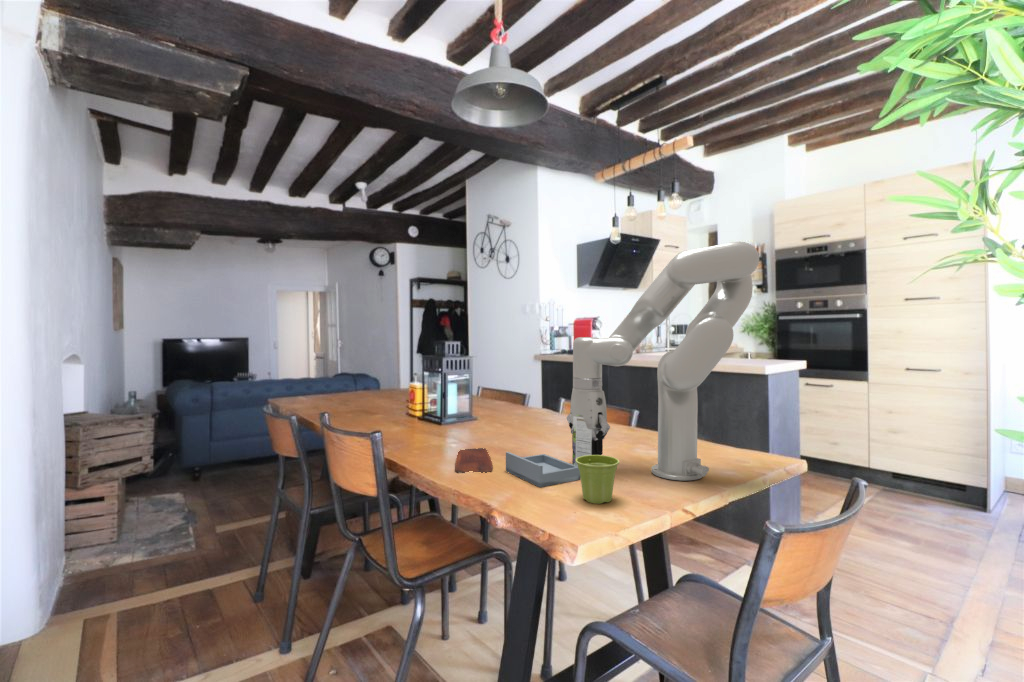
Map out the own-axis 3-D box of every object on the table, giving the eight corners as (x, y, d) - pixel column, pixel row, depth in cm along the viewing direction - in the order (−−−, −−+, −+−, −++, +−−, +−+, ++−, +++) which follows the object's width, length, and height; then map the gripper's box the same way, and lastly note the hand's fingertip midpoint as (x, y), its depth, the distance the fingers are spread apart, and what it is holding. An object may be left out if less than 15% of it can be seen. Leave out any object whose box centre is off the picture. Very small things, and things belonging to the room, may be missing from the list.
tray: (580, 479, 125) (580, 459, 125) (539, 487, 119) (539, 466, 119) (544, 464, 139) (544, 446, 138) (505, 471, 132) (505, 452, 132)
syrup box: (582, 465, 138) (582, 412, 137) (602, 469, 134) (602, 414, 134) (571, 470, 133) (571, 415, 133) (592, 474, 130) (592, 417, 129)
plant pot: (570, 504, 108) (570, 463, 108) (580, 490, 117) (580, 453, 117) (615, 509, 105) (615, 467, 105) (621, 495, 114) (622, 456, 113)
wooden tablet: (493, 475, 131) (493, 468, 131) (454, 476, 131) (454, 469, 130) (489, 450, 158) (489, 444, 158) (457, 450, 157) (457, 445, 157)
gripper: (621, 386, 128) (620, 457, 128) (577, 380, 143) (577, 443, 143) (598, 388, 124) (598, 461, 124) (556, 382, 139) (555, 446, 139)
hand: (587, 451), depth 134 cm, fingers closed on syrup box, 7 cm apart
